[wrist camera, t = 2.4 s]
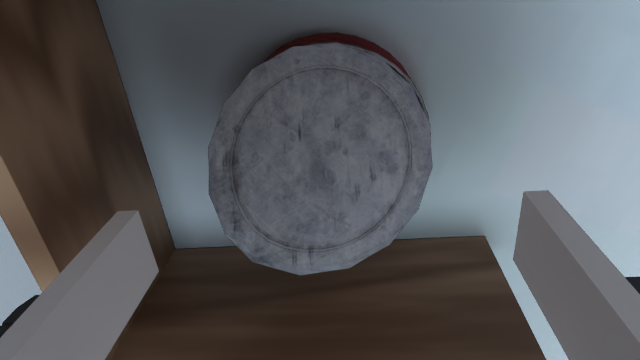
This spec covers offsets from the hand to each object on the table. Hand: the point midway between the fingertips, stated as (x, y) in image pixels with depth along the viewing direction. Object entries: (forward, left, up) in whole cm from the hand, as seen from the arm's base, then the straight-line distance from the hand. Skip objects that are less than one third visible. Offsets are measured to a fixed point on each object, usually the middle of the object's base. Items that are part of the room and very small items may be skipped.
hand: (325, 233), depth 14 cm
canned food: (0, 0, -10) cm, 10 cm away
